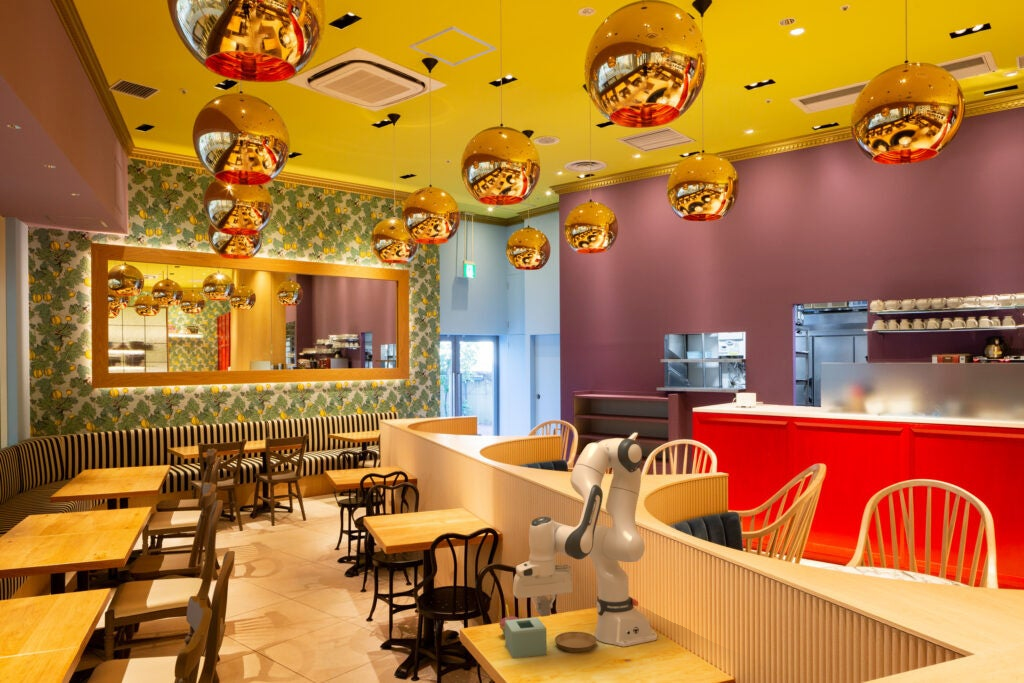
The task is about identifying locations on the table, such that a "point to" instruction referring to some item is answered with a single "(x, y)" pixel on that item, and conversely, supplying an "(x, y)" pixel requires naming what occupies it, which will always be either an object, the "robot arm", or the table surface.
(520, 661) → the table surface
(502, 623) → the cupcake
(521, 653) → the coin box
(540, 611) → the block
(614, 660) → the table surface
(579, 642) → the plant saucer
